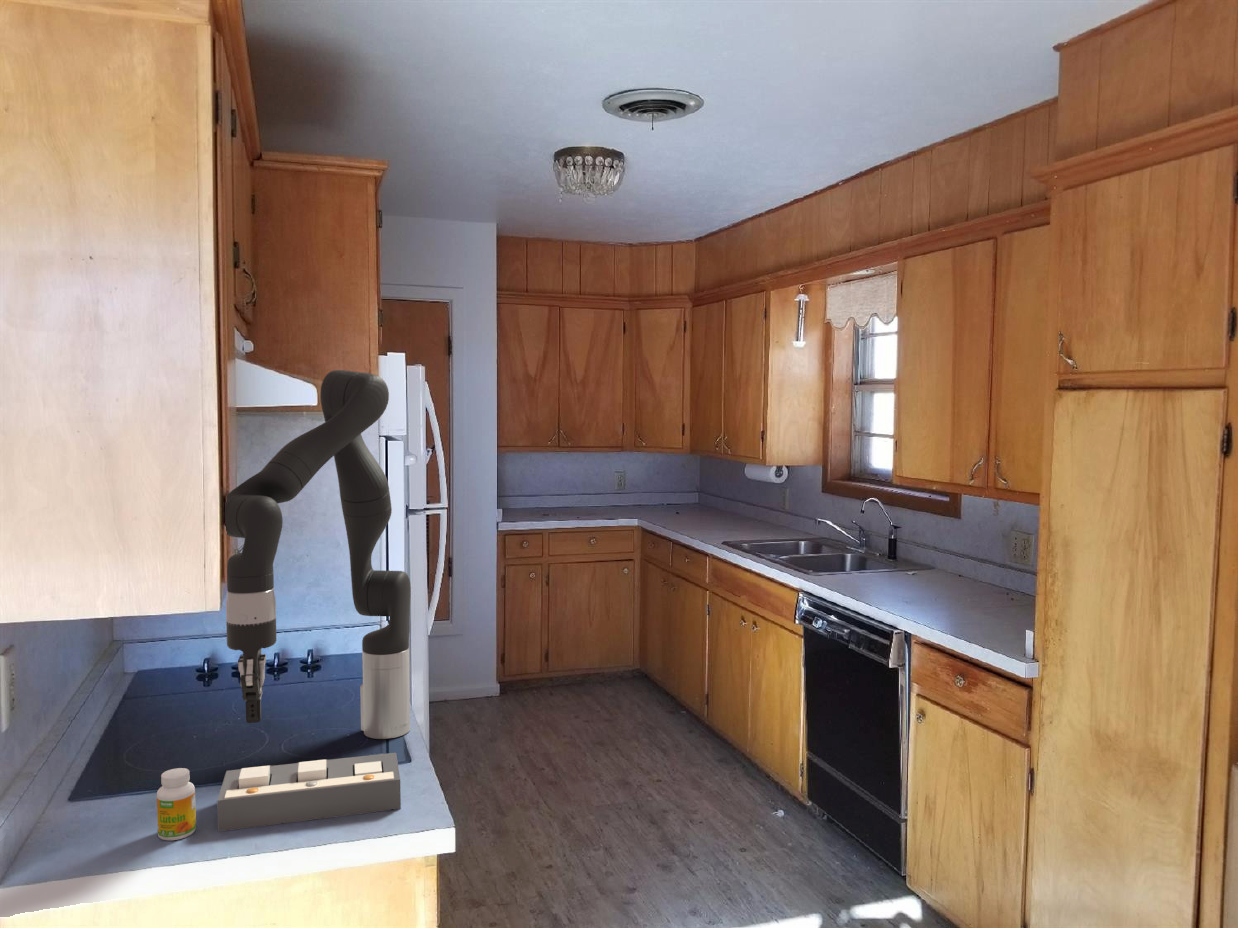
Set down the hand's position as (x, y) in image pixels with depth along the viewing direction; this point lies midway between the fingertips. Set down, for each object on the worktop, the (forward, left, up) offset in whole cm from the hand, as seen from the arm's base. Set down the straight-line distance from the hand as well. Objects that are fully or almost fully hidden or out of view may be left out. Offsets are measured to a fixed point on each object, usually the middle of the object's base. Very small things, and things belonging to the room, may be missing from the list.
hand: (253, 721), depth 149 cm
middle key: (+5, +7, -11) cm, 15 cm away
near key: (0, 0, -11) cm, 11 cm away
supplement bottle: (-3, -12, -16) cm, 20 cm away
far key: (+10, +15, -13) cm, 22 cm away
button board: (+5, +7, -15) cm, 18 cm away
